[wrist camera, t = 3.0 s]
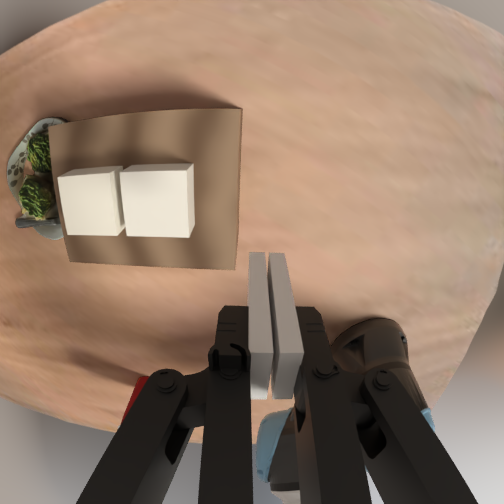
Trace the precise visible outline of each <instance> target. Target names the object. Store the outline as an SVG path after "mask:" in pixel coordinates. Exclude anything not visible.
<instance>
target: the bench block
mask: <svg viewBox="0 0 504 504" xmlns="http://www.w3.org/2000/svg"><path fill="white" fill-rule="evenodd" d="M242 110H243V109H233V108H201V109H173V110H157V111H145V112H135V113H125V114H117V115H110V116H103V117H96V118H90V119H85V120H79V121H73V122H68V123H63V124H58V125H54V126H49V127H48V131H49V145H50V156H51V166H52V174H53V182H54V188H55V195H56V201H57V207H58V212H59V217H60V222H61V227H62V232H63V236H64V241H65V245H66V249H67V253H68V257H69V261H70V262H81V263H97V264H114V265H131V266H150V267H171V268H193V269H216V270H235V267H236V255H237V243H238V227H239V193H240V162H241V135H242ZM181 163H193V171H194V214H195V225H194V228H193V230H192V232H191V235H190V237H189V238H180V237H144V236H127V234H126V227H125V228H124V229H123V230H122V231H121V232H120V233H119V235H118V236H100V235H67V230H66V225H65V220H64V215H63V210H62V204H61V198H60V192H59V185H58V178H57V177H59V176H61V175H63V174H65V173H67V172H69V171H71V170H73V169H84V168H95V167H108V166H123V170H124V169H126V168H128V167H130V166H131V165H144V164H181Z"/></svg>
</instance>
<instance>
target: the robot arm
mask: <svg viewBox="0 0 504 504" xmlns="http://www.w3.org/2000/svg"><path fill="white" fill-rule="evenodd" d="M208 361H209V367H207V368H206V369H205V370H203V371H201V372H199V373H195V374H190V375H185V376H183V375H182V374H181V373H180V372H178V371H176V370H174V369H162V370H158V371H156V372H154V373H153V374H152V375H151V376H150V377H149V378H148V379H147V381H146V383H145V384H144V386H143V388H142V389H141V391H140V393H139V395H138V396H137V398H136V400H135V401H134V403H133V405H132V406H131V408H130V410H129V411H128V413H127V415H126V416H125V418H124V420H123V422H122V423H121V425H120V427H119V428H118V430H117V432H116V434H115V435H114V437H113V439H112V440H111V442H110V444H109V446H108V448H107V449H106V451H105V453H104V454H103V456H102V458H101V460H100V461H99V463H98V465H97V467H96V468H95V471H94V472H93V474H92V476H91V477H90V479H89V481H88V483H87V484H86V486H85V488H84V490H83V492H82V493H81V495H80V497H79V499H78V501H77V503H76V504H162V502H163V500H164V497H165V495H166V493H167V491H168V488H169V486H170V484H171V481H172V479H173V477H174V474H175V472H176V470H177V467H178V465H179V463H180V460H181V458H182V456H183V453H184V451H185V448H186V446H187V444H188V441H189V439H190V437H191V434H192V432H193V430H194V428H195V427H200V426H204V431H203V443H202V455H201V468H200V482H199V496H198V504H253V476H252V432H251V399H267V393H268V387H269V380H270V373H271V388H272V399H292V397H293V394H294V397H295V404H294V407H292V408H289V409H288V410H283V411H278V412H273V413H270V414H268V415H266V416H265V417H264V418H263V420H262V421H261V424H260V427H259V431H258V436H257V444H256V467H257V475H258V478H259V479H260V481H263V482H266V483H268V482H270V487H271V493H273V494H274V495H276V496H277V497H279V498H280V499H281V500H282V501H283V504H372V502H371V496H370V491H369V485H368V480H367V475H366V471H367V472H368V473H369V474H370V476H371V478H372V480H373V482H374V484H375V486H376V488H377V490H378V492H379V494H380V496H381V498H382V500H383V502H384V504H478V503H477V501H476V499H475V498H474V496H473V494H472V492H471V491H470V489H469V487H468V485H467V484H466V482H465V480H464V479H463V477H462V476H461V474H460V472H459V471H458V469H457V467H456V466H455V464H454V462H453V461H452V459H451V458H450V456H449V454H448V453H447V451H446V450H445V448H444V446H443V445H442V443H441V442H440V440H439V439H438V437H437V436H436V434H435V433H434V432H435V426H434V423H433V420H432V417H431V410H430V408H428V405H427V403H426V401H425V399H424V396H423V394H422V392H421V390H420V387H419V385H418V383H417V381H416V379H415V377H414V375H413V372H412V370H411V368H410V366H409V358H408V346H407V339H406V336H405V334H404V332H403V330H402V328H401V327H400V325H399V324H398V323H396V322H395V321H392V320H389V319H372V320H368V321H364V322H362V323H359V324H357V325H355V326H353V327H351V328H349V329H348V330H346V331H345V332H344V333H342V334H341V335H340V336H339V337H338V338H337V339H336V340H335V341H334V343H333V344H332V346H331V348H330V345H329V342H328V338H327V335H326V332H325V328H324V325H323V321H322V317H321V314H320V313H319V312H318V311H317V310H316V309H315V308H314V307H295V302H294V297H293V292H292V287H291V283H290V278H289V273H288V268H287V263H286V258H285V254H284V253H269V261H268V273H267V271H266V260H265V252H249V273H248V296H247V306H224V307H223V308H222V310H221V311H220V312H219V315H218V324H217V331H216V339H215V345H214V346H212V347H211V348H210V350H209V353H208Z"/></svg>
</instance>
